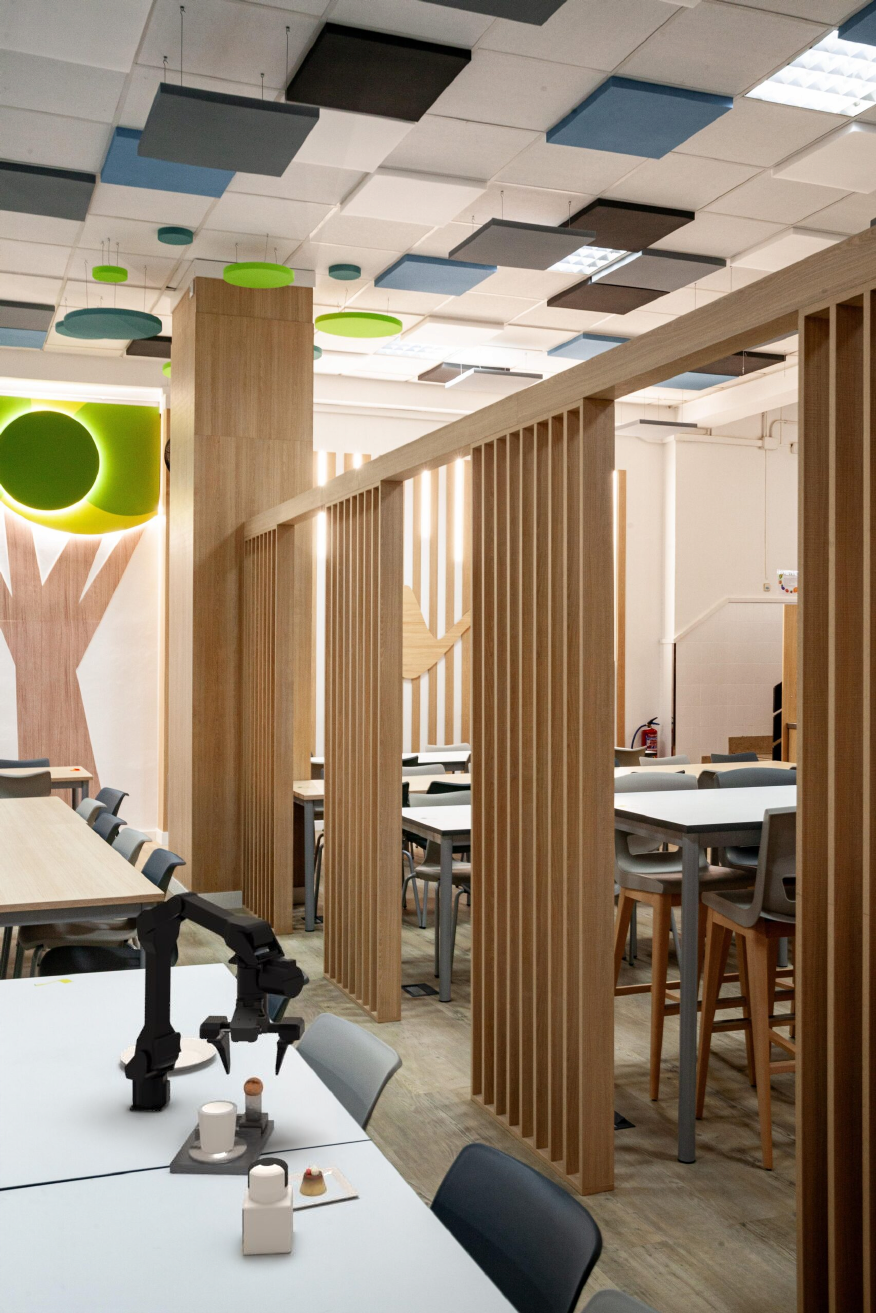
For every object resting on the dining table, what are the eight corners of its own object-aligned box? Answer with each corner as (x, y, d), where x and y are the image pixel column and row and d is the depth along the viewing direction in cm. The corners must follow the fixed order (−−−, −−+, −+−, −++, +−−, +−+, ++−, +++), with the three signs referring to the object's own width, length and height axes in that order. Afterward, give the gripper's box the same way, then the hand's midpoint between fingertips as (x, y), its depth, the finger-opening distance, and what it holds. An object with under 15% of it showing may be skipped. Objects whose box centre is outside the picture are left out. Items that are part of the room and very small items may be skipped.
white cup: (227, 1156, 196) (228, 1115, 196) (191, 1152, 198) (191, 1112, 198) (243, 1140, 203) (243, 1101, 203) (207, 1137, 204) (207, 1098, 204)
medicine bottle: (246, 1232, 174) (246, 1153, 174) (293, 1230, 175) (292, 1151, 175) (242, 1255, 167) (242, 1173, 167) (291, 1253, 167) (290, 1171, 168)
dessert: (268, 1185, 191) (268, 1156, 191) (335, 1172, 196) (335, 1144, 196) (288, 1216, 180) (288, 1185, 180) (359, 1201, 185) (359, 1172, 185)
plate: (100, 1071, 246) (100, 1061, 246) (158, 1042, 266) (158, 1033, 266) (180, 1084, 238) (180, 1073, 238) (234, 1053, 258) (234, 1043, 258)
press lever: (238, 1131, 208) (238, 1082, 208) (244, 1121, 213) (244, 1073, 213) (262, 1131, 208) (262, 1082, 208) (268, 1121, 213) (267, 1073, 213)
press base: (169, 1172, 195) (169, 1157, 195) (200, 1126, 215) (200, 1112, 215) (250, 1174, 194) (250, 1158, 194) (273, 1127, 214) (273, 1113, 214)
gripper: (190, 1001, 203) (190, 1089, 203) (293, 1003, 202) (294, 1091, 202) (207, 984, 214) (207, 1067, 214) (305, 985, 213) (305, 1069, 213)
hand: (252, 1074), depth 210 cm, fingers open, 9 cm apart
